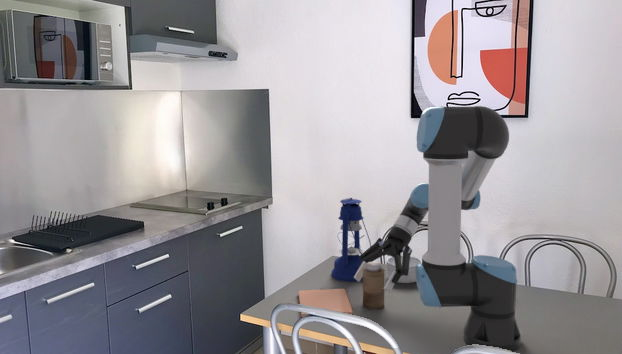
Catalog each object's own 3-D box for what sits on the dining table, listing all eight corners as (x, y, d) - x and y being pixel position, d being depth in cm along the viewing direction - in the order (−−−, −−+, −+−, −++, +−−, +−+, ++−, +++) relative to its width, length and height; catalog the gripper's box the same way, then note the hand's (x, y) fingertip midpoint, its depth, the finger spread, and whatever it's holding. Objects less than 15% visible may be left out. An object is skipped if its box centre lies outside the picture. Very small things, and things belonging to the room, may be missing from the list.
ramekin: (424, 285, 192) (424, 266, 190) (387, 284, 192) (387, 266, 191) (419, 272, 205) (419, 255, 204) (385, 272, 205) (385, 255, 204)
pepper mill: (386, 309, 171) (386, 267, 168) (364, 310, 170) (364, 268, 168) (382, 300, 177) (382, 260, 175) (361, 301, 177) (361, 261, 175)
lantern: (340, 266, 214) (339, 192, 209) (376, 270, 208) (376, 195, 203) (324, 280, 198) (323, 201, 194) (363, 284, 192) (363, 203, 188)
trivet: (352, 316, 165) (352, 311, 165) (301, 318, 164) (301, 314, 164) (344, 292, 185) (344, 288, 185) (298, 294, 184) (298, 290, 184)
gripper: (437, 245, 172) (405, 301, 165) (381, 231, 191) (350, 280, 184) (426, 232, 168) (393, 289, 161) (370, 219, 187) (339, 269, 180)
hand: (370, 285), depth 172 cm, fingers open, 13 cm apart
